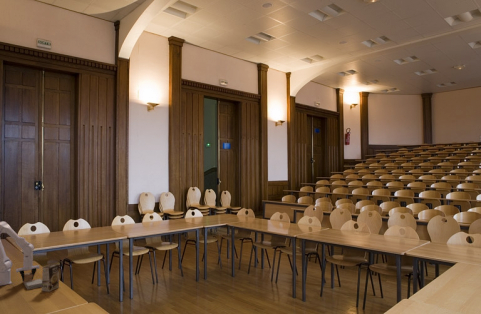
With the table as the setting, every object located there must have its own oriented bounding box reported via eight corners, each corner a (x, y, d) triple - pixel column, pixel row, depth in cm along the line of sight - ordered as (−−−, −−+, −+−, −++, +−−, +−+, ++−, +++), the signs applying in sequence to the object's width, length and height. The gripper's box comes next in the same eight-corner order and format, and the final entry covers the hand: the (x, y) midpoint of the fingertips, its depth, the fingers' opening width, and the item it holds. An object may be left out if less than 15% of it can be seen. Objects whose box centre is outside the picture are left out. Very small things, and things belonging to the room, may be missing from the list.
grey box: (24, 286, 249) (24, 282, 249) (40, 283, 255) (40, 278, 255) (27, 290, 241) (27, 285, 241) (44, 286, 248) (44, 282, 248)
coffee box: (49, 292, 237) (50, 268, 238) (41, 291, 239) (42, 267, 239) (59, 287, 246) (59, 264, 247) (51, 286, 248) (51, 263, 248)
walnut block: (22, 282, 255) (23, 273, 255) (30, 280, 259) (31, 272, 259) (24, 284, 252) (24, 275, 252) (32, 282, 255) (32, 274, 255)
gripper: (17, 264, 247) (17, 283, 247) (40, 260, 257) (40, 279, 257) (15, 262, 253) (15, 281, 253) (38, 258, 262) (38, 277, 262)
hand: (27, 280), depth 255 cm, fingers closed on walnut block, 5 cm apart
